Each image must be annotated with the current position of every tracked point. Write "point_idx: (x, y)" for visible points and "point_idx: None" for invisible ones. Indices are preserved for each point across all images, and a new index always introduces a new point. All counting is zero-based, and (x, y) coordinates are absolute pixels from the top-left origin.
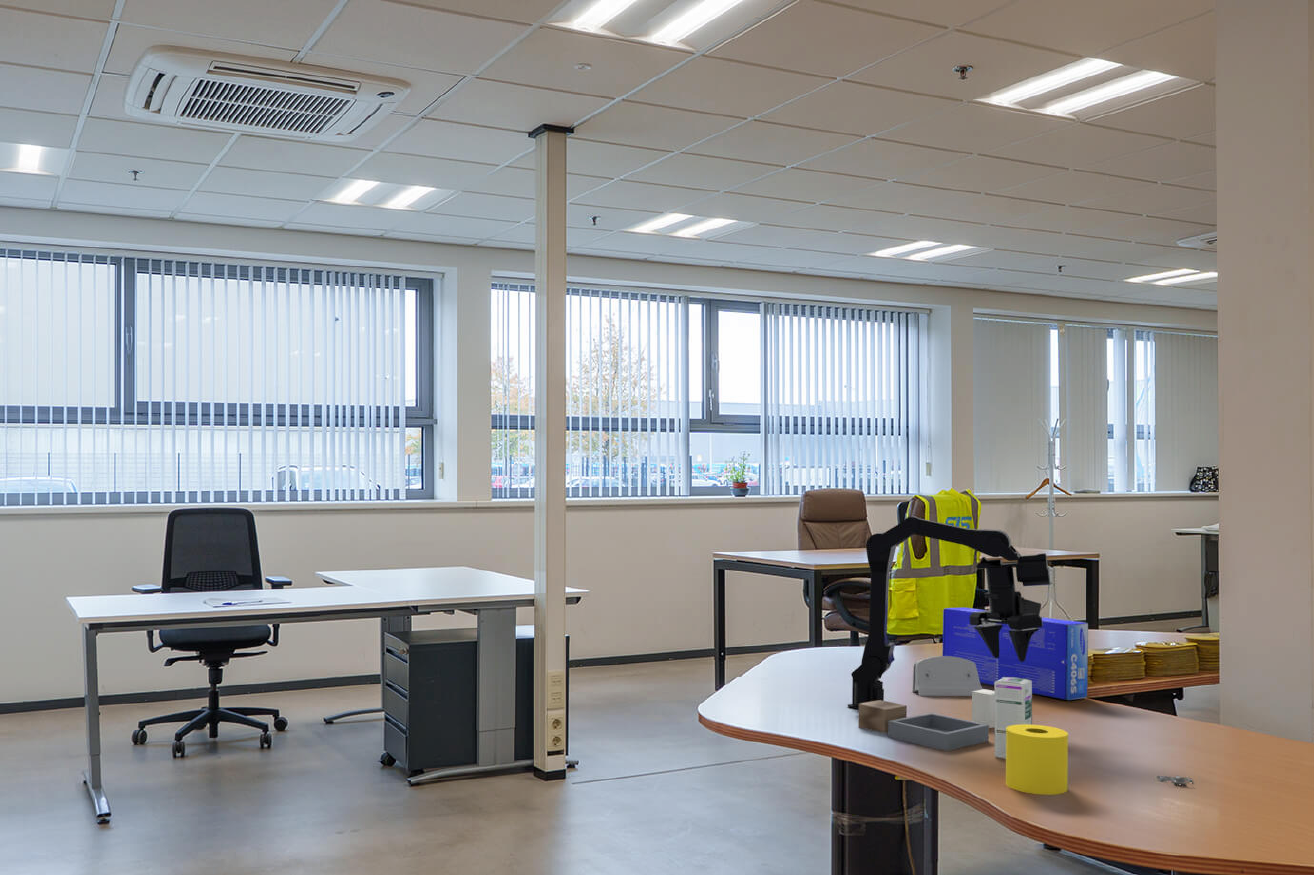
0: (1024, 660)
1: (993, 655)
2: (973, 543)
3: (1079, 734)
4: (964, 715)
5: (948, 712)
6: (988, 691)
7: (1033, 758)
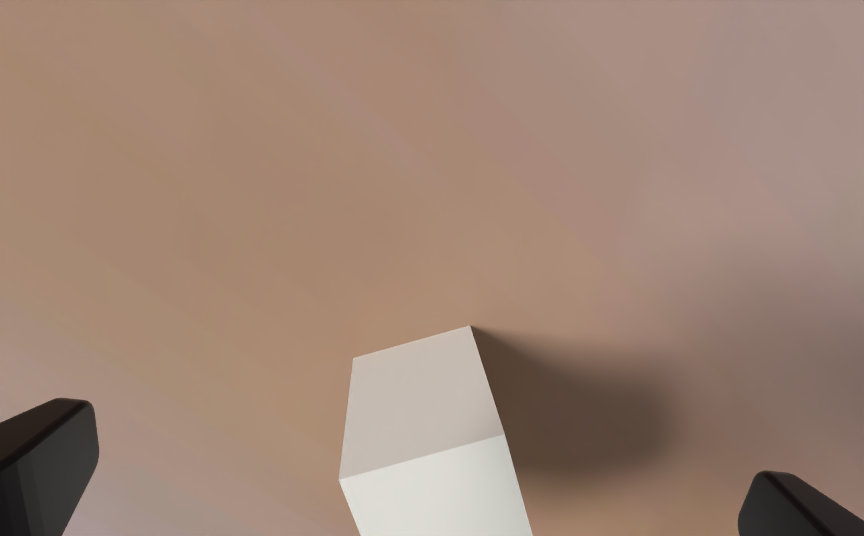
0: (795, 486)
1: (65, 504)
2: None
3: (840, 50)
4: (175, 360)
5: (74, 397)
6: (430, 503)
7: None
